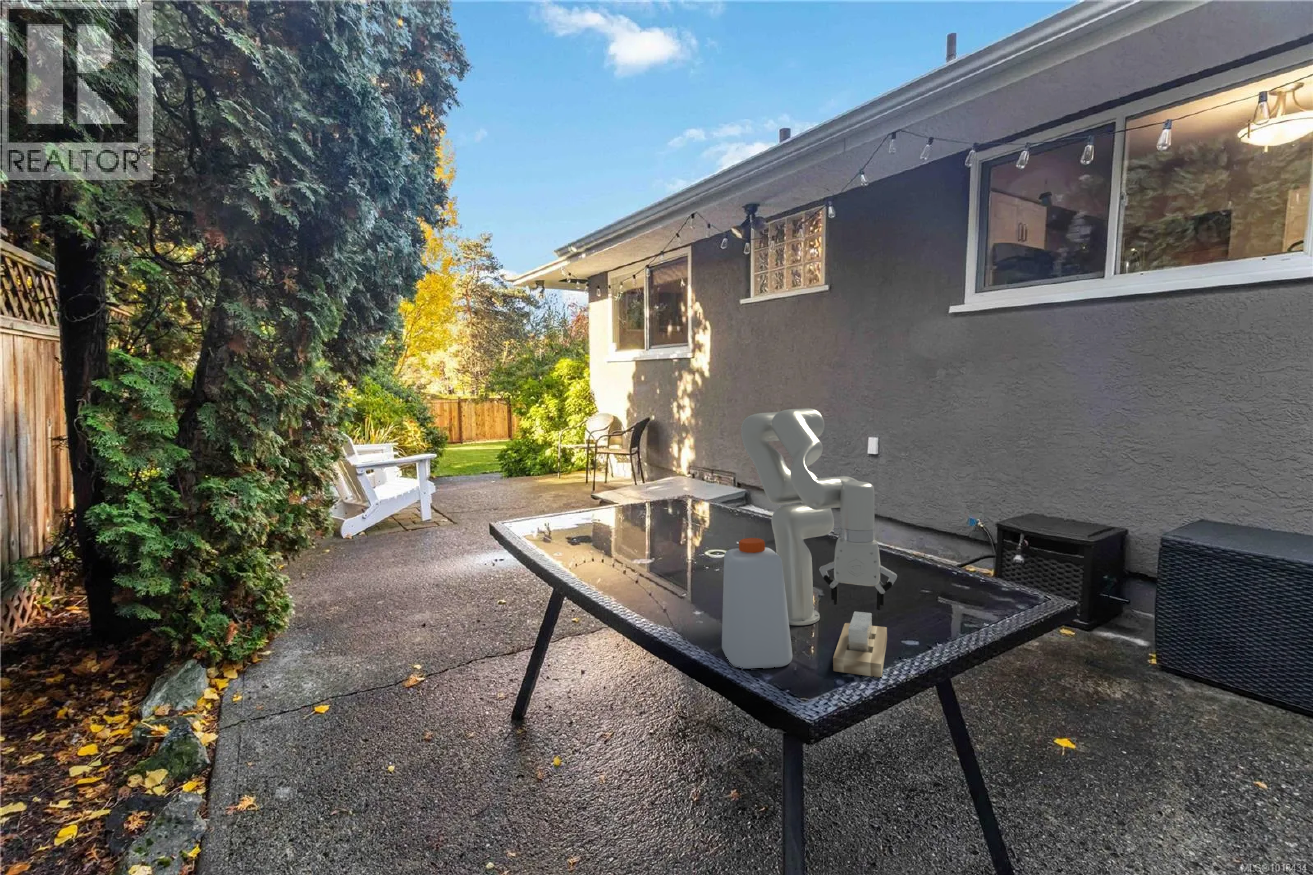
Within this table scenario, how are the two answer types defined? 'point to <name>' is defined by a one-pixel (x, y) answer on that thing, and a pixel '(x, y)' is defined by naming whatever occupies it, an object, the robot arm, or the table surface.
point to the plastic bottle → (755, 607)
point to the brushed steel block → (860, 631)
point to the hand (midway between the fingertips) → (857, 605)
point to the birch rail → (861, 654)
